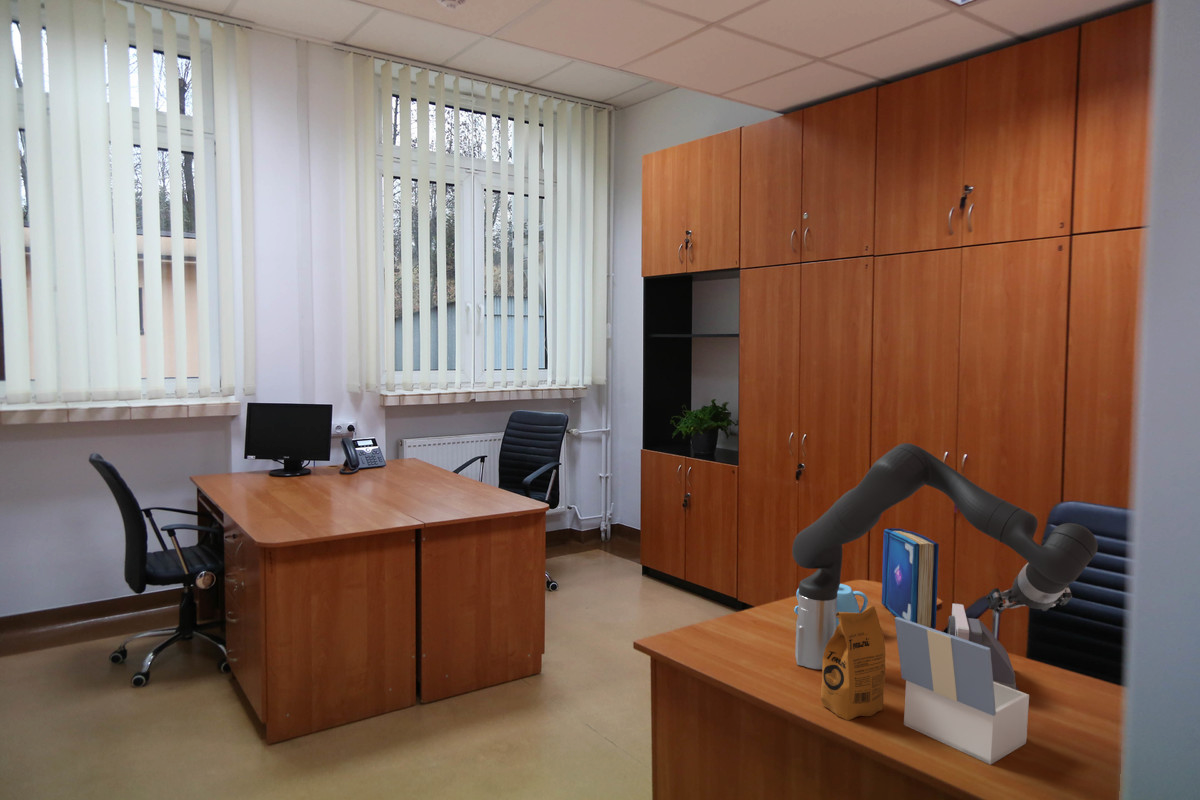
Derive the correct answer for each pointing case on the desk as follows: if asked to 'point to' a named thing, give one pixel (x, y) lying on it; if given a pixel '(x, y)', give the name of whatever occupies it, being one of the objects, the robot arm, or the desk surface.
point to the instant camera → (983, 644)
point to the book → (910, 576)
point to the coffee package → (854, 666)
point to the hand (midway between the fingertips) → (1019, 607)
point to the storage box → (970, 721)
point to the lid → (946, 665)
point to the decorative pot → (845, 601)
